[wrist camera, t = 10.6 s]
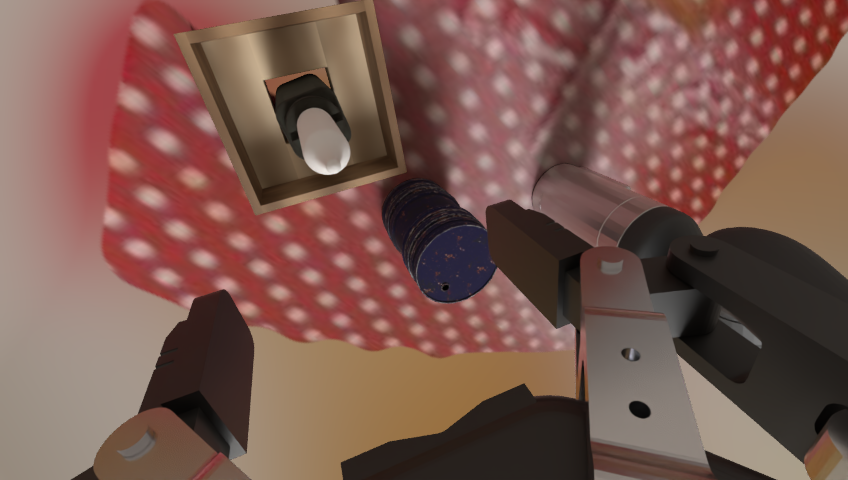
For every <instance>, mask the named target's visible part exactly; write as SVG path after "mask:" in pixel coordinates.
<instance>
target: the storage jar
mask: <svg viewBox="0 0 848 480" xmlns="http://www.w3.org/2000/svg"><path fill="white" fill-rule="evenodd" d="M382 220H383V224H384V226H385V228H386V230H387V233H388V235H389V237H390V239H391V241H392V242H393V244H394V246H395V247H396V249H397V250H398V251H399V252H400V253H401V254H402V256H403V261H404V263H405V266H406V267H407V269H408V271H409V273H410V274H411V276H412V278H413V279H414V280H415V281H416V283H417V285H418V286H419V288H420V290H421V291H422V293H423V294H424V295H425V296H426V297H428V298H429V299H431V300H433V301H435V302H439V303H456V302H461V301H463V300H466V299H468V298H470V297H472V296H474V295H475V294H477V293H478V292H480V291H481V290H482V289H483V288H484V287H485V286H486V285H487V284H488V283H489V281H490V280H491V279H492V277H493V275H494V274H495V272H496V269H497V266H496V265H495V263H494V262H493V260H492V258H491V255H490V252H489V247H488V235H487V230H486V229H485V227H484V226H483V225H482V224H481V223H480V222H479V221H478V220H477V219H476V218H475V217H474V216H473V215H472V214H471V213H470V212H468V211H467V210H465V209H463V208H461V207H460V206H459V204H458V202H457V201H456V200H455V198H454V197H452V196H451V195H450V194H449V193H448V192H446V191H445V190H444V189H442V188H441V187H440V186H439V185H437V184H436V183H434V182H433V181H430V180H427V179H420V178H417V179H411V180H407V181H405V182H403V183H401V184H399V185H398V186H397V187H395V188H394V189H393V190H392V191H391V192H390V194H389V195H388V197H387V198H386V200H385V202H384V205H383V209H382Z"/></svg>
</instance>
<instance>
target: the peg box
mask: <svg viewBox="0 0 848 480" xmlns="http://www.w3.org/2000/svg"><path fill="white" fill-rule="evenodd" d="M174 36H175V38H176V40H177V43H178V45H179V47H180V49H181V51H182V54H183V56H184V58H185V60H186V62H187V65H188V67H189V69H190V71H191V74H192V76H193V78H194V80H195V82H196V85H197V87H198V89H199V91H200V93H201V96H202V98H203V100H204V102H205V105H206V107H207V109H208V111H209V113H210V116H211V118H212V120H213V122H214V124H215V127H216V129H217V131H218V133H219V136H220V138H221V140H222V142H223V144H224V147H225V149H226V151H227V153H228V155H229V158H230V160H231V162H232V164H233V167H234V169H235V171H236V173H237V175H238V178H239V180H240V182H241V184H242V186H243V189H244V191H245V193H246V195H247V198H248V200H249V202H250V204H251V206H252V209H253V211H254V213H255V215H259V214H262V213H266V212H269V211H273V210H276V209H280V208H283V207H287V206H290V205H294V204H298V203H301V202H305V201H308V200H312V199H315V198H319V197H322V196H326V195H329V194H333V193H336V192H340V191H343V190H347V189H350V188H354V187H357V186H361V185H364V184H368V183H372V182H375V181H379V180H382V179H386V178H389V177H393V176H396V175H400V174H403V173H407V170H406V165H405V160H404V155H403V150H402V145H401V140H400V134H399V129H398V124H397V119H396V114H395V109H394V104H393V99H392V94H391V89H390V84H389V79H388V74H387V69H386V64H385V59H384V54H383V49H382V44H381V38H380V33H379V28H378V23H377V18H376V13H375V8H374V3H373V0H361V1H355V2H350V3H344V4H339V5H333V6H328V7H322V8H316V9H311V10H305V11H300V12H294V13H289V14H283V15H277V16H272V17H266V18H261V19H255V20H250V21H244V22H239V23H233V24H228V25H222V26H216V27H211V28H205V29H200V30H194V31H189V32H183V33H178V34H174ZM324 67H325V69H326V72H327V76H328V80H329V83H330V87H331V90H332V91H333V92H334V93H335V95H336V97H337V99H338V101H339V104H340V106H341V108H342V110H343V113H344V115H345V117H346V119H347V122H348V124H349V126H350V129H351V139H350V141H349V142H348V143H349V146H350V158H349V161H348V163H347V165H346V166H345V167H344V168H343V169H342V170H341V171H339V172H338V173H336V174H332V175H324V174H320V173H318V172H315V171H314V170H312V169H311V168H310V167H309V166H308V165H307V163H306V162H305V160H303V159H301V158H299V157H298V156H297V155H296V154H295V152H294V151H293V149H292V147H291V145H290V143H289V141H288V140H287V138H285V135H284V132H283V130H282V129H281V127H280V125H279V123H278V121H277V119H276V110H275V107H274V105H273V102H272V99H271V96H270V93H269V91H268V88H267V85H266V82H265V80H267V79H272V78H277V77H282V76H286V75H291V74H295V73H301V72H305V71H310V70H315V69H319V68H324Z"/></svg>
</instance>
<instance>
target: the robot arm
mask: <svg viewBox="0 0 848 480" xmlns="http://www.w3.org/2000/svg"><path fill="white" fill-rule="evenodd" d="M532 203H533V208H534V210H535V211H534V210H530V209H527V210H525V209H523V208H522V207H520V206H519V205H518V204H516V203H515V202H513V201H512V200H506V201H503V202H500V203H497V204H493V205H490V206H488V207H487V208H486V223H487V235H488V247H489V252H490V255H491V258H492V260H493V262H494V263H495V265H496V266H497V267H498V268H499V269H500V270H501V271H502V272H503V273H504V274H505V275H506V276H507V277H508V278H509V280H510V281H511V282H512V283H513V284H514V285H515V286H516V287H517V288H518V289H519V290H520V291H521V292H522V293H523V294H524V295H525V296H526V297H527V298H528V299H529V301H530V302H531V303H532V304H533V305H534V306H535V307H536V308H537V309H538V310H539V311H540V312H541V313H542V314H543V315H544V316H545V317H546V318H547V319H548V321H549V322H550V323H551V324H552V325H553V326H554V327H555V328H556V329H557V328H560V327H562V326H565V325H567V324H570V323H571V324H572V325H573V326H574V327H575V399H574V398H569V397H564V396H552V395H549V396H548V395H547V396H533V395H532V394H531V392H530V391H529V389H528V388H527V387H526V385H525V384H522V385H519V386H517V387H515V388H512V389H510V390H508V391H506V392H503V393H501V394H499V395H496V396H494V397H492V398H489V399H487V400H485V401H483V402H481V403H480V404H479V405H477V406H476V407H475V408H474V409H472V410H471V411H470V412H468V413H467V414H466V415H465V416H463V417H462V418H461V419H460V420H458V421H457V422H456V423H454V424H453V425H452V426H450V427H449V428H448V429H447V430H445V431H444V432H441V433H438V434H432V435H427V436H421V437H414V438H408V439H402V440H397V441H390V442H387V443H385V444H383V445H381V446H378V447H376V448H374V449H371V450H369V451H367V452H364V453H362V454H360V455H358V456H355V457H353V458H350V459H348V460H346V461H343V462H341V468H342V475H343V480H776V479H774V478H771V477H769V476H766V475H764V474H761V473H759V472H757V471H754V470H752V469H749V468H747V467H744V466H742V465H740V464H737V463H735V462H732V461H730V460H727V459H725V458H722V457H720V456H717V455H715V454H713V453H710V452H708V451H705V450H704V447H703V444H702V441H701V437H700V433H699V430H698V426H697V423H696V419H695V416H694V412H693V409H692V405H691V402H690V398H689V395H688V391H687V388H686V384H685V381H684V377H683V374H682V370H681V367H680V363H679V360H678V357H677V354H678V355H679V356H680V357H681V358H683V359H684V360H685V361H686V362H687V363H688V364H689V365H691V366H692V367H693V368H694V369H695V370H696V371H698V372H699V373H700V374H701V375H702V376H703V377H704V378H706V379H707V380H708V381H709V382H710V383H711V384H713V385H714V386H715V387H716V388H717V389H718V390H719V391H721V392H722V393H723V394H724V395H725V396H726V397H727V398H729V399H730V400H731V401H732V402H733V403H734V404H736V405H737V406H738V407H739V408H740V409H741V410H742V411H744V412H745V413H746V414H747V415H748V416H749V417H751V418H752V419H753V420H754V421H755V422H756V423H757V424H759V425H760V426H761V427H762V428H763V429H764V430H765V431H767V432H768V433H769V434H770V435H771V436H772V437H774V438H775V439H776V440H777V441H778V442H779V443H780V444H782V445H783V446H784V447H785V448H786V449H787V450H789V451H790V452H791V453H792V454H793V455H794V456H795V457H797V458H798V459H799V460H800V461H801V462H803V464H805V469H806V471H807V474H808V476H809V477H810V479H811V480H848V280H847V279H846V278H845V277H844V276H843V275H842V274H840V273H839V272H838V271H837V270H836V269H835V268H834V267H832V266H831V265H830V264H829V263H828V262H826V261H825V260H824V259H822V258H821V257H820V256H819V255H817V254H816V253H815V252H813V251H812V250H810V249H809V248H807V247H806V246H804V245H802V244H801V243H799V242H797V241H795V240H793V239H791V238H789V237H786V236H784V235H781V234H778V233H775V232H772V231H768V230H763V229H757V228H749V227H736V228H735V227H734V228H726V229H721V230H718V231H715V232H713V233H711V234H709V235H707V236H703V234H702V232H701V230H700V228H699V227H698V225H697V223H696V222H695V221H694V220H693V219H692V218H691V217H690V216H688V215H686V214H685V213H683V212H680V211H678V210H676V209H673V208H671V207H669V206H666V205H664V204H662V203H659V202H657V201H655V200H652V199H650V198H648V197H645V196H643V195H641V194H638V193H636V192H634V191H631V189H630V187H629V186H628V185H626V184H623V183H621V182H618V181H616V180H614V179H611V178H609V177H607V176H604V175H602V174H599V173H597V172H595V171H592V170H590V169H588V168H585V167H576V166H574V165H571V164H560V165H556V166H554V167H552V168H550V169H549V170H548V171H547V172H545V173H544V174H543V176H542V177H541V178H540V179H539V181H538V182H537V184H536V186H535V189H534V192H533V197H532ZM160 354H161V356H160V357H159V358H158V361H157V363H156V369H155V370H154V372H153V374H152V377H151V380H150V382H149V385H148V388H147V391H146V393H145V396H144V399H143V402H142V405H141V407H140V410H139V412H138V414H137V415H135V416H134V417H132V418H130V419H129V420H127V421H126V422H125V423H123V424H122V425H121V426H120V427H118V428H117V429H116V430H115V431H114V432H113V433H112V434H111V435H110V436H109V437H108V438H107V439H106V440H105V442H104V443H103V444H102V446H101V447H100V449H99V451H98V452H97V454H96V457H95V460H94V464H93V466H92V467H91V468H89V469H88V470H86V471H84V472H83V473H81V474H79V475H78V476H76V477H75V478H73V479H71V480H251V479H250V478H249V477H248V476H247V475H246V474H245V473H244V472H242V471H241V470H240V469H239V468H238V467H237V466H236V465H235V464H234V463H232V462H231V461H230V460H232V459H234V458H237V457H239V456H241V455H244V454H246V453H247V441H248V428H249V415H250V400H251V387H252V373H253V359H254V343H253V338H252V335H251V333H250V330H249V328H248V326H247V324H246V323H245V321H244V319H243V317H242V315H241V314H240V312H239V310H238V308H237V307H236V305H235V303H234V301H233V300H232V298H231V296H230V294H229V293H228V292H227V291H226V290H224V289H223V290H220V291H217V292H213V293H210V294H207V295H204V296H201V297H198V298H195V299H194V300H193V303H192V306H191V309H190V312H189V315H188V318H187V320H185V321H182V322H179V323H178V324H177V325H176V327H175V328H174V329H173V330H172V331H171V333H170V334H169V335H168V336H167V337H166V339H165V342H164V345H163V347H162V350H161V353H160Z"/></svg>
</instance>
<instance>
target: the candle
mask: <svg viewBox="0 0 848 480" xmlns="http://www.w3.org/2000/svg"><path fill="white" fill-rule="evenodd" d="M276 119H277V121H278V123H279V125H280V127H281V129H282V130H283V132H284V134H285V136H286V138H287V140H288V141H289V143H290V145H291V147H292V149H293V151H294V152H295V154H296V155H297V156H298V157H299V158H301V159H303V160H305V162H306V163H307V165H308V166H309V167H310V168H311V169H312V170H314V171H315V172H318V173H320V174H324V175H332V174H336V173H338V172H339V171H341V170H342V169H343V168H344V167H345V166H346V165H347V163H348V161H349V158H350V146H349V143H348V142H349V141H350V139H351V129H350V126H349V124H348V122H347V119H346V117H345V115H344V113H343V110H342V108H341V106H340V104H339V101H338V99H337V97H336V95H335V93H334V92H333V91H332V90H331V89H330V88H329V87H328V86H327V85H326V84H325V83H324V82H322V80H320V79H319V78H318V77H317V76H316V75H313V74H306V75H303V76H301V77H299V78H296V79H294V80H291V81H289V82H286V83H284V84H282V85H280V86H279V87H278V88H277V91H276Z"/></svg>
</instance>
